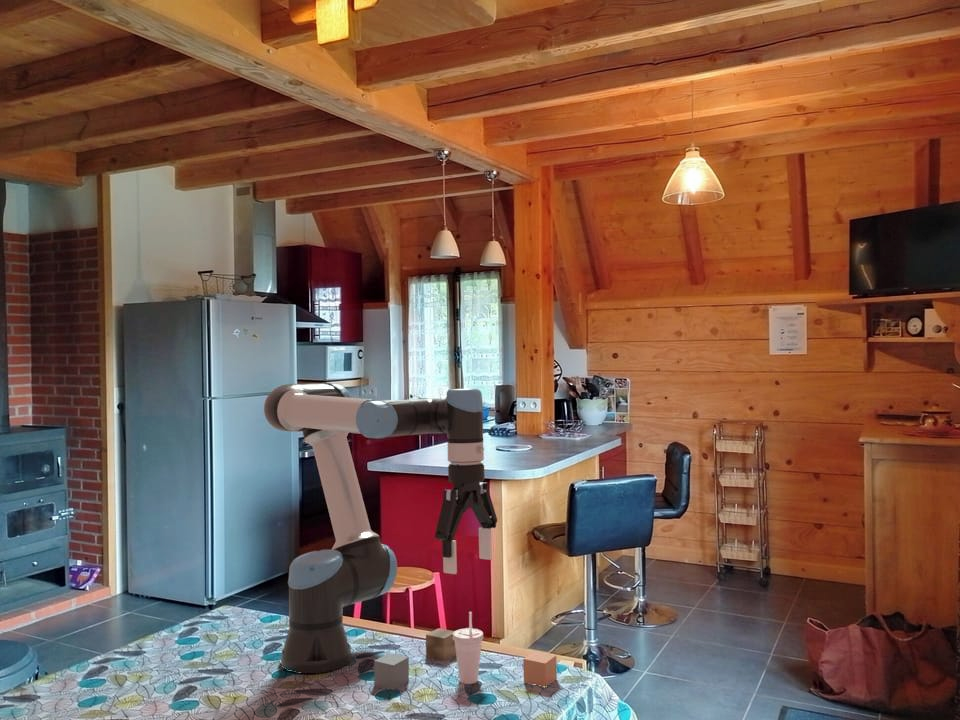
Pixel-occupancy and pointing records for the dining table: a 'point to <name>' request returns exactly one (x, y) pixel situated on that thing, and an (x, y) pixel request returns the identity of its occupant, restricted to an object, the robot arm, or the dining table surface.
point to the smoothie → (468, 652)
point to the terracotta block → (540, 668)
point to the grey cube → (391, 671)
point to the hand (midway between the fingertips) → (468, 565)
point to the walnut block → (440, 644)
